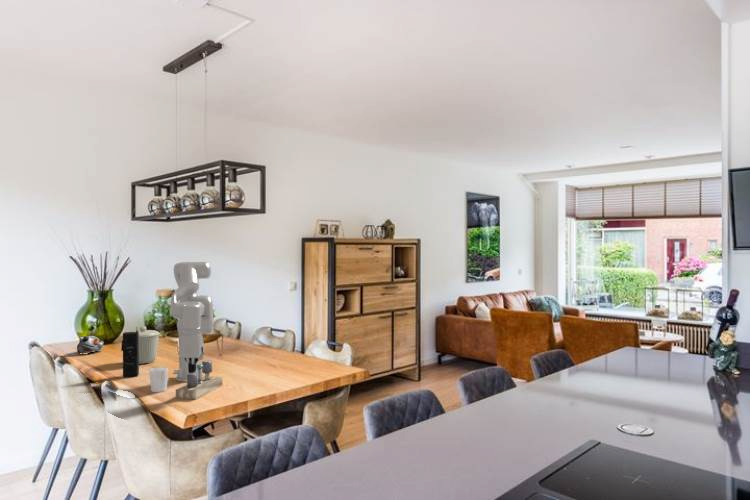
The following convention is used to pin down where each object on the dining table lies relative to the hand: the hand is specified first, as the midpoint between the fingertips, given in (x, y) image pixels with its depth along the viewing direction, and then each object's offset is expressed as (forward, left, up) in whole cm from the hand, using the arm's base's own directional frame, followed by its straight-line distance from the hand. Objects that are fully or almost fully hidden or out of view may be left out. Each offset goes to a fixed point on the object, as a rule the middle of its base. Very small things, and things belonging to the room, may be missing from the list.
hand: (192, 372), depth 218 cm
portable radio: (-52, +24, -11) cm, 58 cm away
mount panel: (0, +6, -10) cm, 12 cm away
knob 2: (0, +12, -7) cm, 14 cm away
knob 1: (0, 0, -10) cm, 10 cm away
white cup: (-20, +4, -11) cm, 23 cm away
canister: (-66, +52, -11) cm, 84 cm away
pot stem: (0, +6, -6) cm, 8 cm away
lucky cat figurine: (-117, +68, -11) cm, 136 cm away
